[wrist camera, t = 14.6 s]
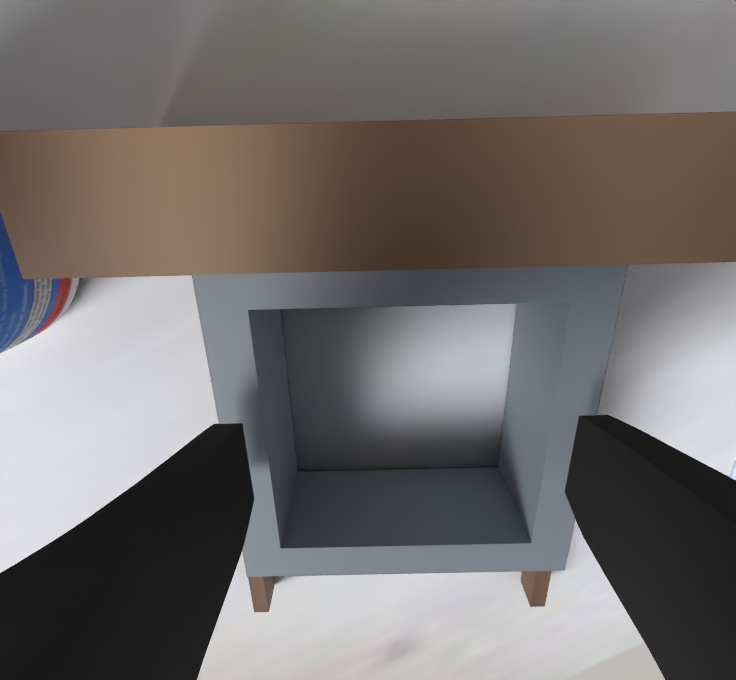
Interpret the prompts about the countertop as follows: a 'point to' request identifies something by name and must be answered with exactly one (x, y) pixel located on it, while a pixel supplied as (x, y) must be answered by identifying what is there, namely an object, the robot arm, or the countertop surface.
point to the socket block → (414, 486)
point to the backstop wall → (371, 201)
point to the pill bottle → (28, 298)
